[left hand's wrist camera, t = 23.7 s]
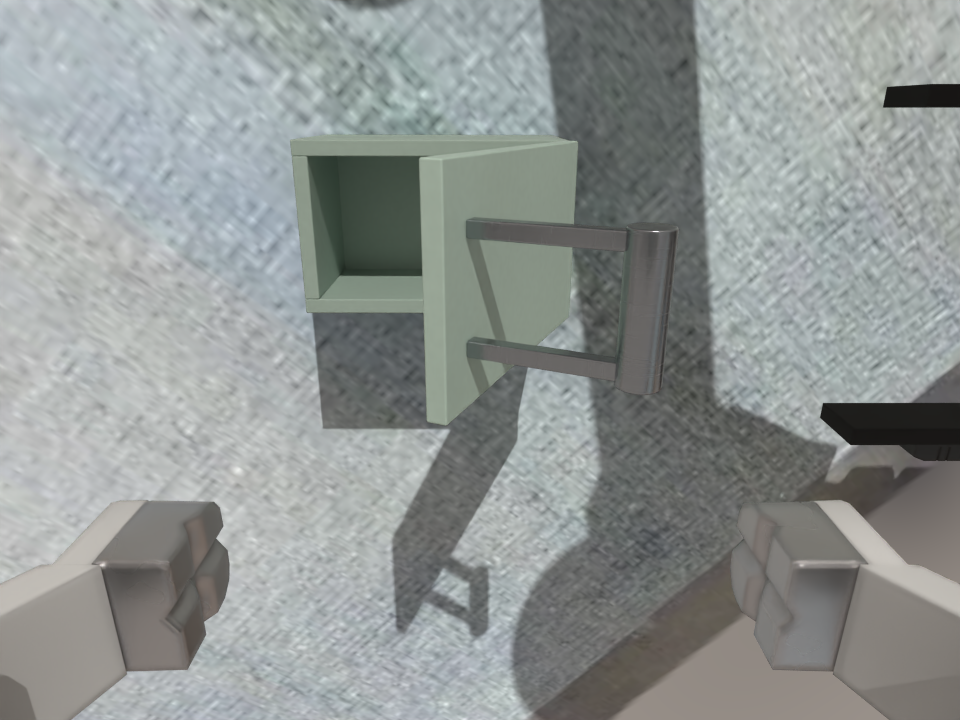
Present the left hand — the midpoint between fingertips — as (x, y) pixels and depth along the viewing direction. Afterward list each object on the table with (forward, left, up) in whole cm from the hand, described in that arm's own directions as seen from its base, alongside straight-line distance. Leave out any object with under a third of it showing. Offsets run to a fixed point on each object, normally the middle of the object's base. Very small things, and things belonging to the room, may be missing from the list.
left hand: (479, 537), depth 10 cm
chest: (-2, +1, -37) cm, 37 cm away
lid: (+1, 0, -21) cm, 21 cm away
